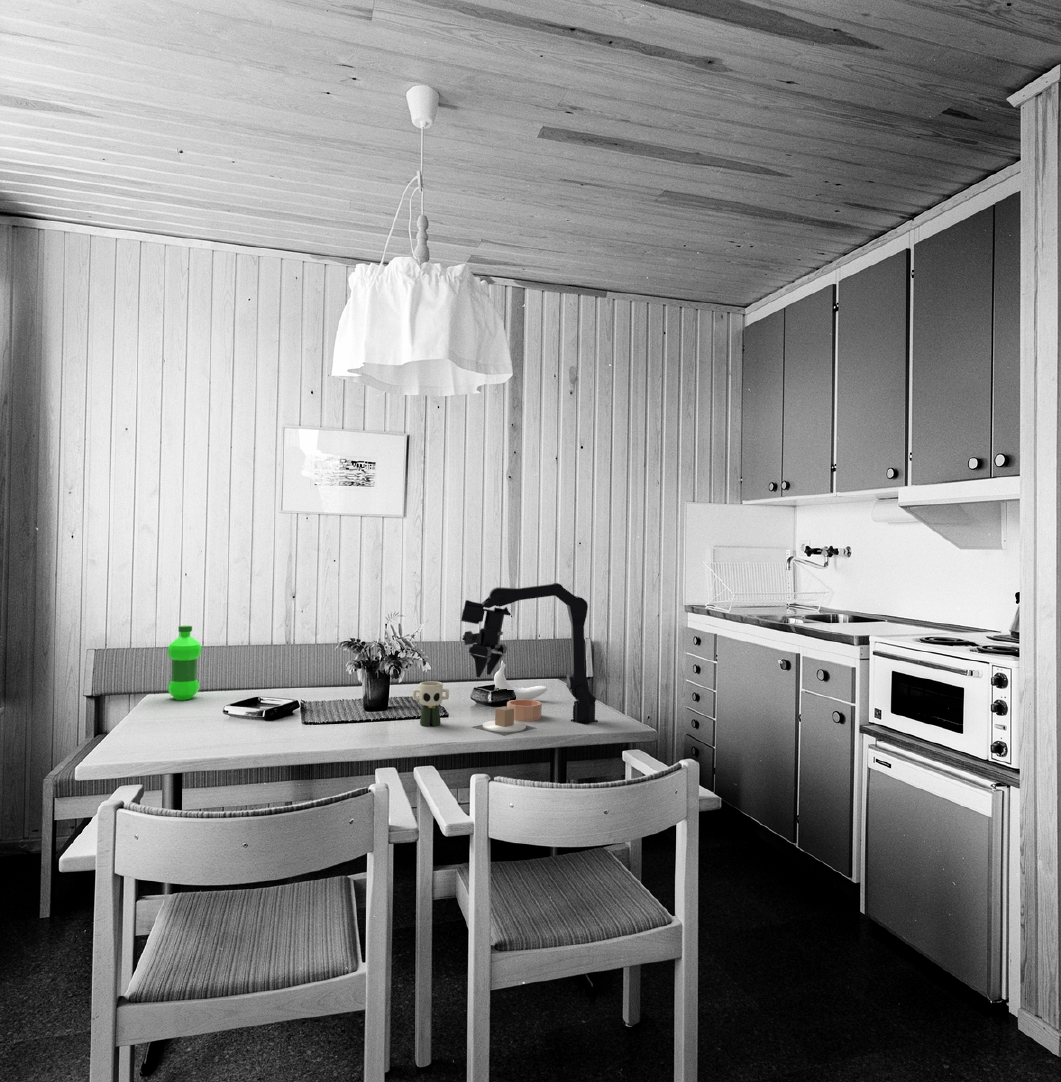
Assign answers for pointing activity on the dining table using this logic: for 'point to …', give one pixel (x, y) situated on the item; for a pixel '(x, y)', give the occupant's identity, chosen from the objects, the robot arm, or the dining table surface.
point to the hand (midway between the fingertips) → (483, 675)
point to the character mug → (430, 701)
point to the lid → (504, 721)
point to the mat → (503, 733)
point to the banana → (520, 692)
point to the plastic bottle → (184, 665)
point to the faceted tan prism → (526, 709)
